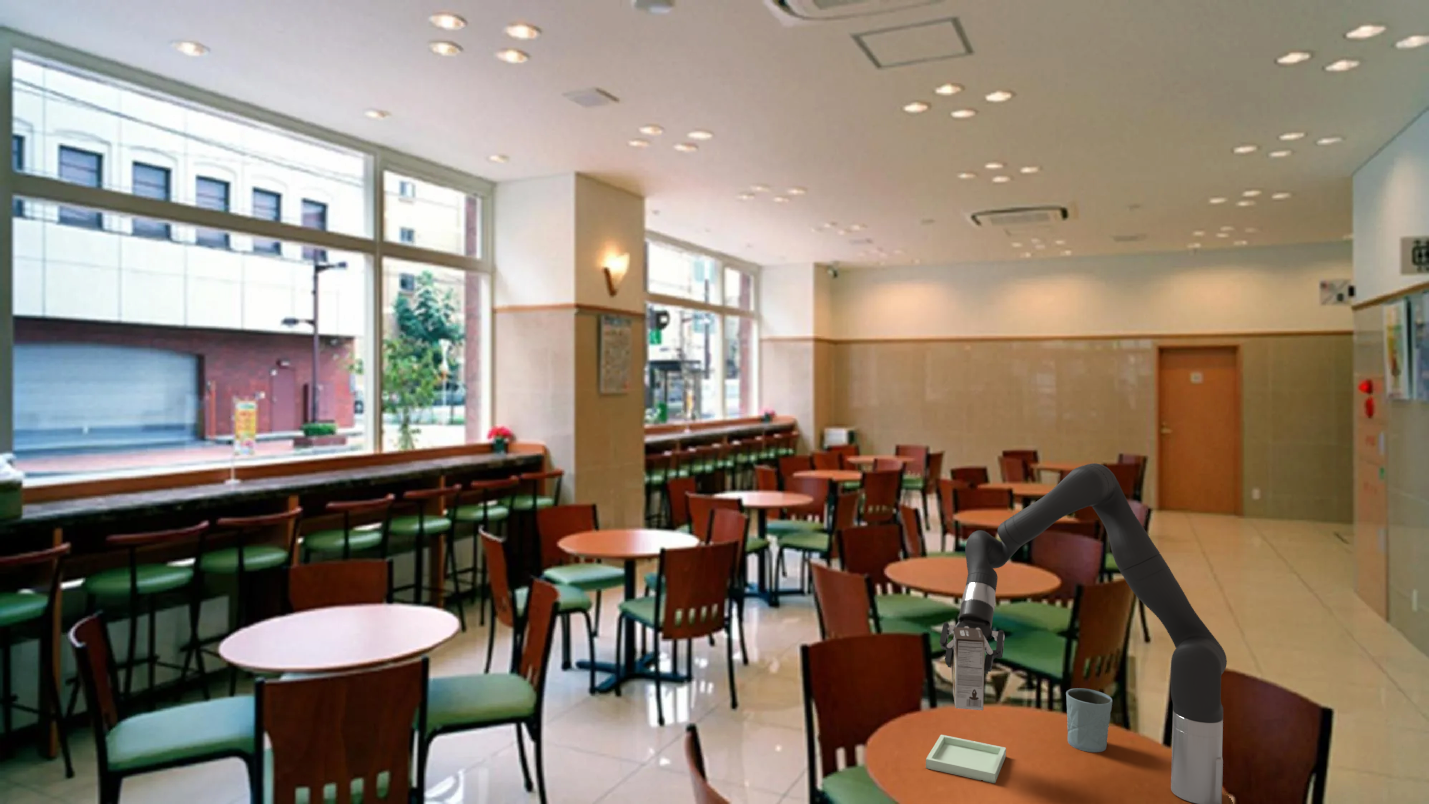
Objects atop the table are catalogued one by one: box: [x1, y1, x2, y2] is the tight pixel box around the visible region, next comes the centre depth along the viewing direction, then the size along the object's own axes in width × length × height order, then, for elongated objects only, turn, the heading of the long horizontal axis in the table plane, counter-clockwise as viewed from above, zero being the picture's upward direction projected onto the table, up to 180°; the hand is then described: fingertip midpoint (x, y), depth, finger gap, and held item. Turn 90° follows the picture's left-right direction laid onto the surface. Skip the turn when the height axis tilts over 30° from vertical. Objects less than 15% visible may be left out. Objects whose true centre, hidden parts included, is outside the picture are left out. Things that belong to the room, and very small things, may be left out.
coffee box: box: [952, 627, 986, 711], centre depth 193 cm, size 9×6×16 cm
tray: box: [925, 734, 1007, 784], centre depth 193 cm, size 15×15×2 cm
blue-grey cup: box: [1065, 687, 1113, 753], centre depth 203 cm, size 10×10×12 cm
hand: (967, 668), depth 192 cm, fingers closed on coffee box, 7 cm apart
